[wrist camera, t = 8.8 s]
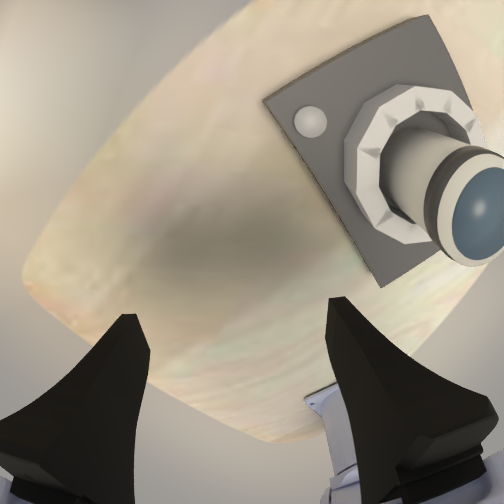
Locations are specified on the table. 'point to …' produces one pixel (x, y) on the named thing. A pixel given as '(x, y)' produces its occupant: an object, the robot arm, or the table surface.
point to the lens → (447, 192)
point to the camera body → (375, 131)
